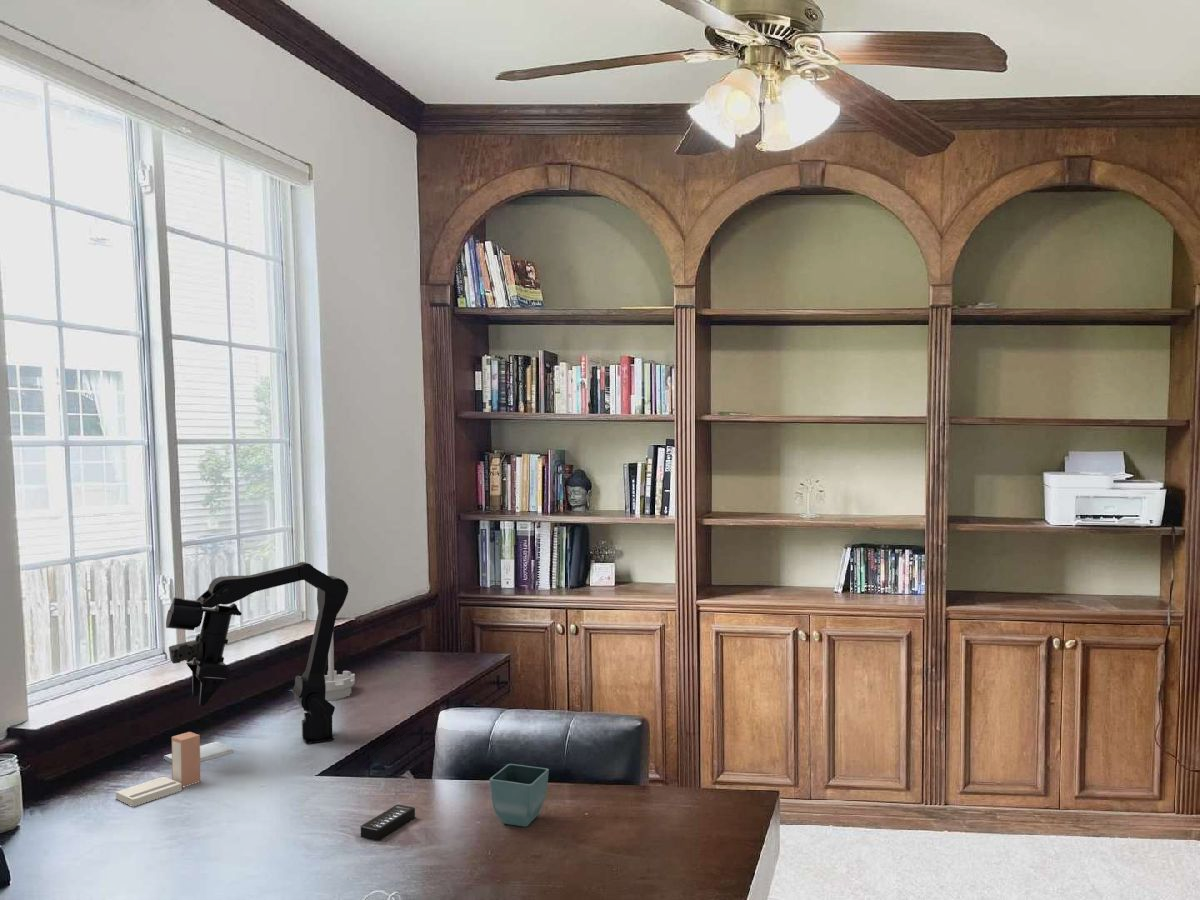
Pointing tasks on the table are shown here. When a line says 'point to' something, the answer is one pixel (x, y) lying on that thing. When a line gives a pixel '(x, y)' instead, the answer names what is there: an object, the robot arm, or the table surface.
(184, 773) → the stub
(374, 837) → the multiport hub
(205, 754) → the hard drive
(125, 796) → the striped cream block
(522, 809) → the flower pot
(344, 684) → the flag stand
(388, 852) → the table surface
